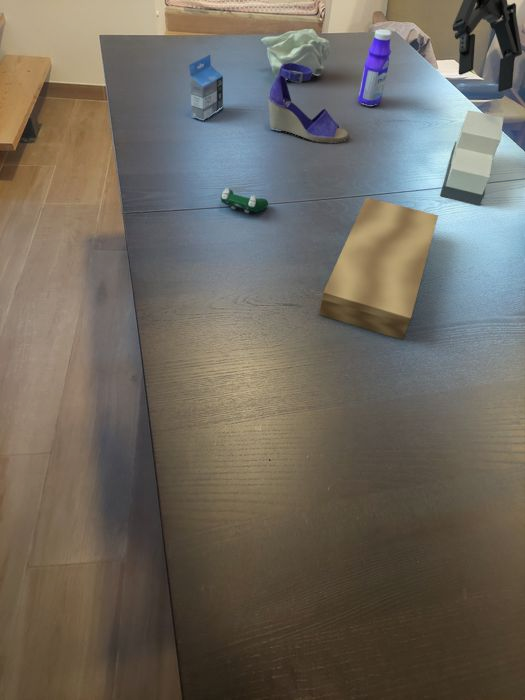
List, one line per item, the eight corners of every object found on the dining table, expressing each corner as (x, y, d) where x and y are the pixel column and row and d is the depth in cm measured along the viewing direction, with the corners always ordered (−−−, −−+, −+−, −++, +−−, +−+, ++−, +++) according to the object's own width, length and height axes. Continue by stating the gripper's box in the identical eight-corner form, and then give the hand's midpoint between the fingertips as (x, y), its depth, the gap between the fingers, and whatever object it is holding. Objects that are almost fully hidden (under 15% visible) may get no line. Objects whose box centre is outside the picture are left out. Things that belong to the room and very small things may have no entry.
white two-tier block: (487, 159, 122) (504, 117, 115) (479, 205, 108) (498, 161, 101) (452, 151, 124) (466, 109, 117) (439, 196, 110) (455, 152, 103)
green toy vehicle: (223, 208, 105) (214, 200, 100) (228, 190, 105) (219, 181, 99) (264, 219, 104) (257, 212, 98) (270, 201, 103) (263, 193, 97)
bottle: (372, 110, 137) (388, 38, 123) (353, 104, 138) (367, 32, 125) (383, 101, 141) (400, 30, 128) (365, 95, 143) (379, 25, 130)
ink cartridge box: (204, 122, 126) (202, 69, 117) (191, 118, 127) (188, 65, 118) (223, 109, 132) (223, 57, 122) (210, 105, 133) (209, 54, 123)
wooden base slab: (430, 236, 100) (438, 215, 96) (402, 340, 81) (411, 318, 77) (361, 218, 103) (366, 196, 99) (318, 314, 84) (323, 292, 80)
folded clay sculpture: (277, 104, 151) (258, 57, 138) (278, 75, 157) (259, 28, 144) (337, 85, 145) (322, 34, 132) (335, 56, 150) (321, 4, 138)
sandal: (342, 149, 121) (354, 83, 110) (263, 132, 125) (267, 66, 114) (349, 134, 127) (361, 70, 115) (273, 118, 130) (278, 54, 119)
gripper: (510, 0, 111) (503, 101, 114) (437, -46, 98) (431, 71, 100) (545, -17, 105) (537, 90, 107) (472, -68, 91) (464, 56, 93)
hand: (486, 81), depth 104 cm, fingers open, 13 cm apart
